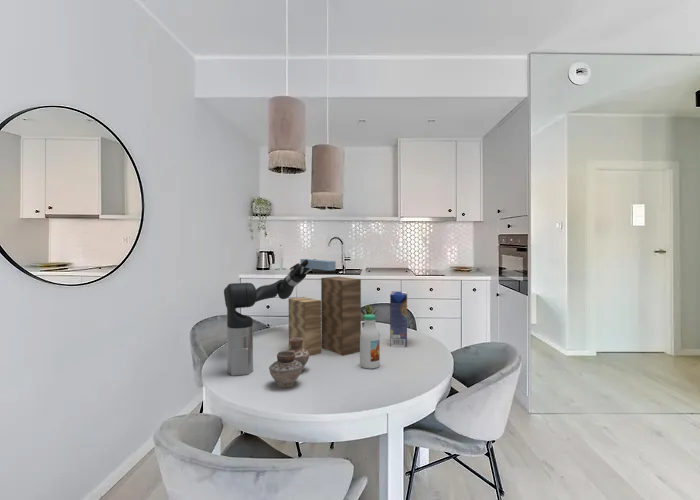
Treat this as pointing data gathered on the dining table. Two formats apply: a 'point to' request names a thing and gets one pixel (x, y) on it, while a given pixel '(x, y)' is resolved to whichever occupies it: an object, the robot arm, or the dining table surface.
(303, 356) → the pottery
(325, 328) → the tall stand
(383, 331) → the dining table surface
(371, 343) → the milk bottle
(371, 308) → the house plant
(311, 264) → the rod
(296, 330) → the lower block
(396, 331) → the juice carton
